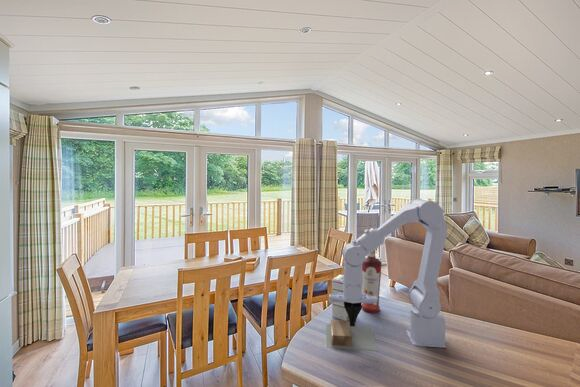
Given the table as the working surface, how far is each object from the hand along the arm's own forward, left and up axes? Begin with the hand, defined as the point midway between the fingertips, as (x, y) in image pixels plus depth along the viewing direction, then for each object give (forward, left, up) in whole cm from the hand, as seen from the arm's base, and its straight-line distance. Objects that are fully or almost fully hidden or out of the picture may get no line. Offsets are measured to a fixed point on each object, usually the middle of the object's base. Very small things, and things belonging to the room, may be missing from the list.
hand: (352, 324), depth 90 cm
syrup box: (+2, -14, -5) cm, 15 cm away
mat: (0, 0, -5) cm, 5 cm away
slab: (0, 0, -3) cm, 3 cm away
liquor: (-9, -20, -5) cm, 22 cm away
